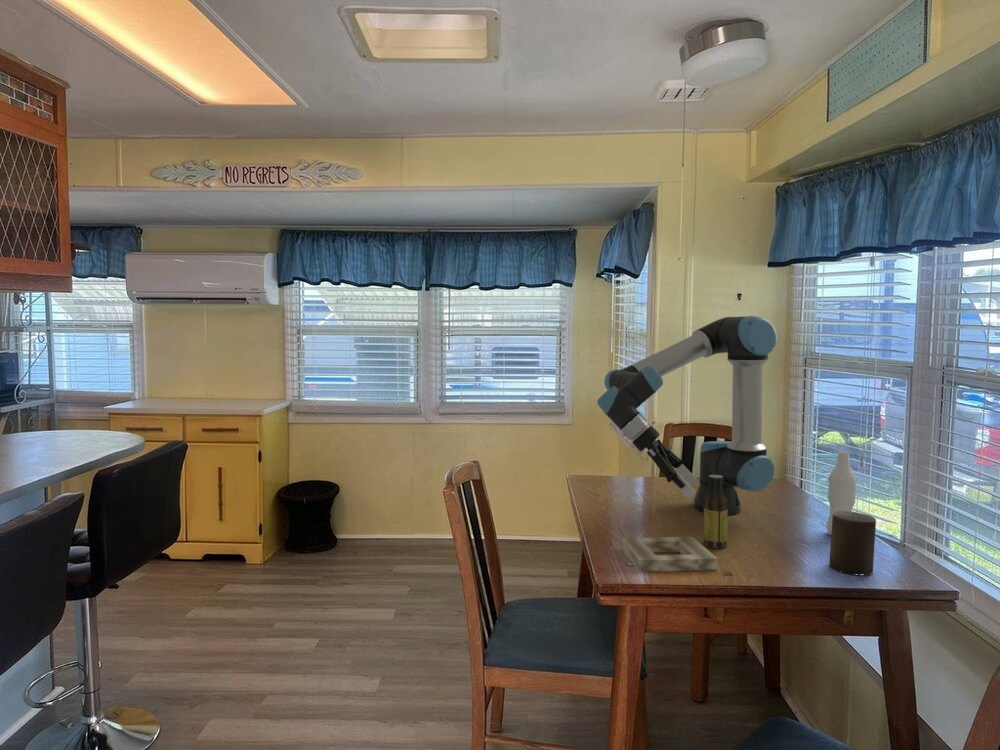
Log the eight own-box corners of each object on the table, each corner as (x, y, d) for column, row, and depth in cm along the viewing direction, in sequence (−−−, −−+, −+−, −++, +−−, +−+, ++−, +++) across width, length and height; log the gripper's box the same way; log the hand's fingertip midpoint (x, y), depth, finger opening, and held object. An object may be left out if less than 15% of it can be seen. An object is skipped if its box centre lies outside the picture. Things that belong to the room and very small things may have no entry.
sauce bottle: (722, 542, 174) (725, 473, 172) (729, 549, 167) (732, 478, 166) (700, 541, 174) (702, 472, 173) (706, 549, 168) (708, 478, 166)
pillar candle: (857, 578, 149) (861, 518, 148) (820, 564, 157) (824, 508, 156) (881, 572, 153) (885, 514, 152) (844, 559, 162) (847, 503, 161)
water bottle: (850, 533, 182) (854, 450, 180) (855, 540, 176) (860, 455, 174) (823, 530, 185) (827, 449, 183) (828, 537, 178) (832, 453, 176)
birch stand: (691, 547, 169) (692, 536, 169) (717, 570, 153) (717, 558, 153) (621, 548, 167) (621, 538, 167) (639, 571, 152) (639, 560, 151)
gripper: (637, 434, 188) (686, 487, 184) (624, 449, 165) (680, 510, 160) (655, 418, 186) (705, 471, 181) (645, 431, 162) (702, 492, 158)
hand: (693, 489), depth 171 cm, fingers open, 13 cm apart
